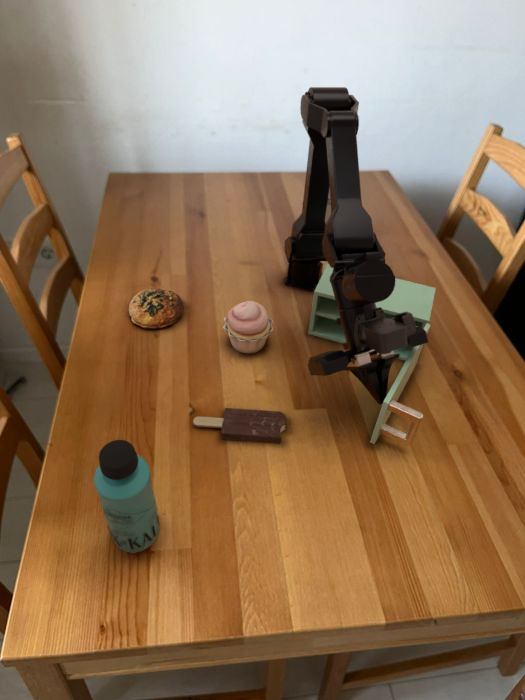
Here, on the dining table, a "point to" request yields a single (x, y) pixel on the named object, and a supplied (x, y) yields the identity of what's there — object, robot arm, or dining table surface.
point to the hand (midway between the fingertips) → (382, 403)
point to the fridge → (401, 300)
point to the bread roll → (155, 308)
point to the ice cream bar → (247, 424)
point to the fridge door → (400, 409)
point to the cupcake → (248, 327)
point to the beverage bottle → (127, 496)
